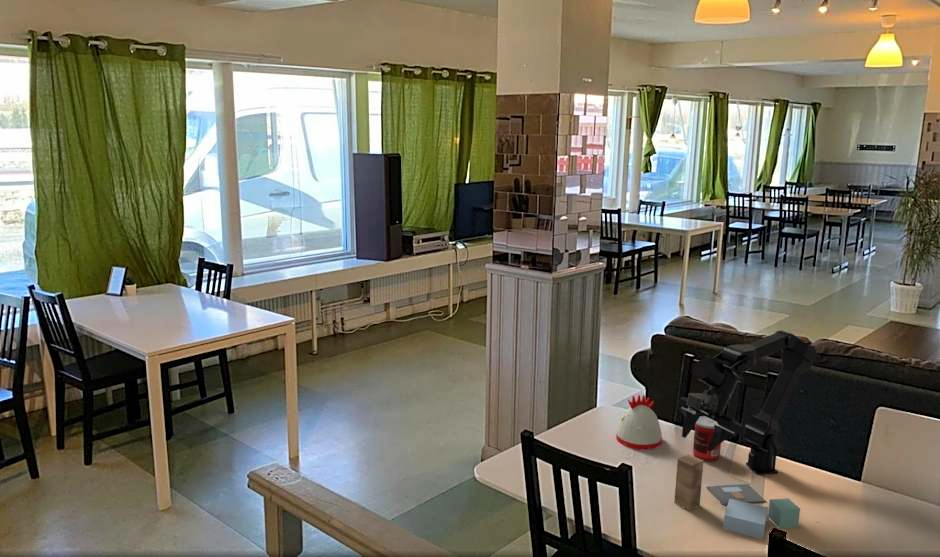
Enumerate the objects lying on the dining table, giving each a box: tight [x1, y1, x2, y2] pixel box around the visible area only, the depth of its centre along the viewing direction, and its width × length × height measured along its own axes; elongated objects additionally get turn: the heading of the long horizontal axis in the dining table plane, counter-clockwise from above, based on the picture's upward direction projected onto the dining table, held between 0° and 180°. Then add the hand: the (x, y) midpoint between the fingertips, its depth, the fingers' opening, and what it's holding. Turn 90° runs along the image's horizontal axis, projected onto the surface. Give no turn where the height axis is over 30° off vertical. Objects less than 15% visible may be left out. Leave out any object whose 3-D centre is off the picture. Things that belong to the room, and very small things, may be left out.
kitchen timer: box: [615, 393, 663, 451], centre depth 219 cm, size 14×14×15 cm
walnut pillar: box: [673, 453, 704, 511], centre depth 181 cm, size 4×4×12 cm
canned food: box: [692, 415, 722, 462], centre depth 209 cm, size 8×8×11 cm
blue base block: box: [722, 499, 769, 540], centre depth 172 cm, size 9×9×4 cm
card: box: [706, 483, 767, 506], centre depth 187 cm, size 12×9×1 cm
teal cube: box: [767, 497, 801, 529], centre depth 174 cm, size 5×5×5 cm
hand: (695, 444), depth 188 cm, fingers open, 9 cm apart
